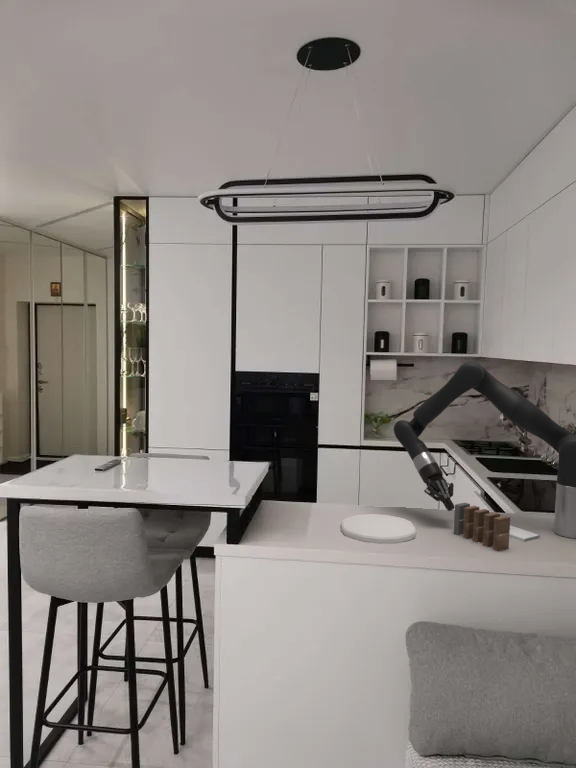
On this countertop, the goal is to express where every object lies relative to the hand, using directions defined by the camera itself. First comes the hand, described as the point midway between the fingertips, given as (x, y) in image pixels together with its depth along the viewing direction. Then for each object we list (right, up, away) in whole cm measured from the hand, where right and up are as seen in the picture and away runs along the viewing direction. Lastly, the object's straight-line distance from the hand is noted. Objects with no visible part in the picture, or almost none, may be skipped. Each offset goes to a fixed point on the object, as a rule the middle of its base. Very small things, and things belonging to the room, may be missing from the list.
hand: (451, 509), depth 195 cm
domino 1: (+2, -7, -4) cm, 8 cm away
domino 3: (+6, -8, -10) cm, 15 cm away
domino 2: (+4, -8, -7) cm, 11 cm away
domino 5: (+10, -9, -17) cm, 22 cm away
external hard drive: (+21, -8, -3) cm, 23 cm away
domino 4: (+8, -8, -14) cm, 18 cm away
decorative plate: (-26, -7, -2) cm, 27 cm away
